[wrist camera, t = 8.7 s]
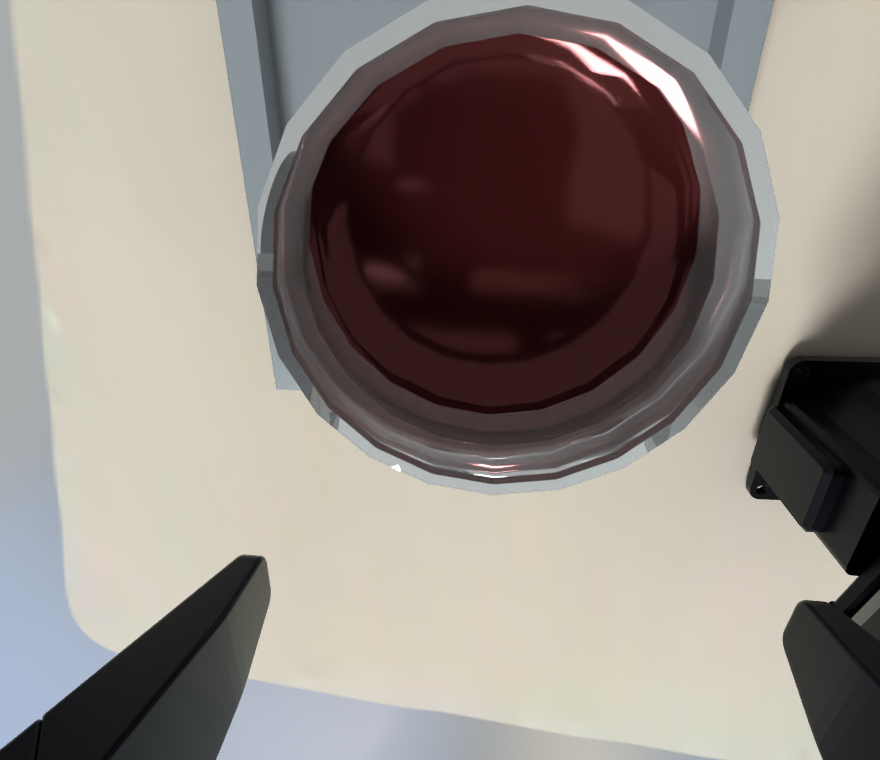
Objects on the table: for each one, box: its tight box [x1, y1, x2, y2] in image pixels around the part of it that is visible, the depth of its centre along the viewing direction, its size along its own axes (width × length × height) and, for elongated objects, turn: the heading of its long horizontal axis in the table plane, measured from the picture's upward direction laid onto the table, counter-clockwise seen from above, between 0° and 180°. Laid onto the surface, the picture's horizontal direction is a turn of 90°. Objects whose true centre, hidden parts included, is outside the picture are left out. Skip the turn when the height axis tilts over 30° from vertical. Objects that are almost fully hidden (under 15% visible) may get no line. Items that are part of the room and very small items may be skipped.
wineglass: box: [257, 0, 779, 495], centre depth 12 cm, size 7×7×12 cm
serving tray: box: [216, 0, 774, 390], centre depth 17 cm, size 15×15×2 cm
